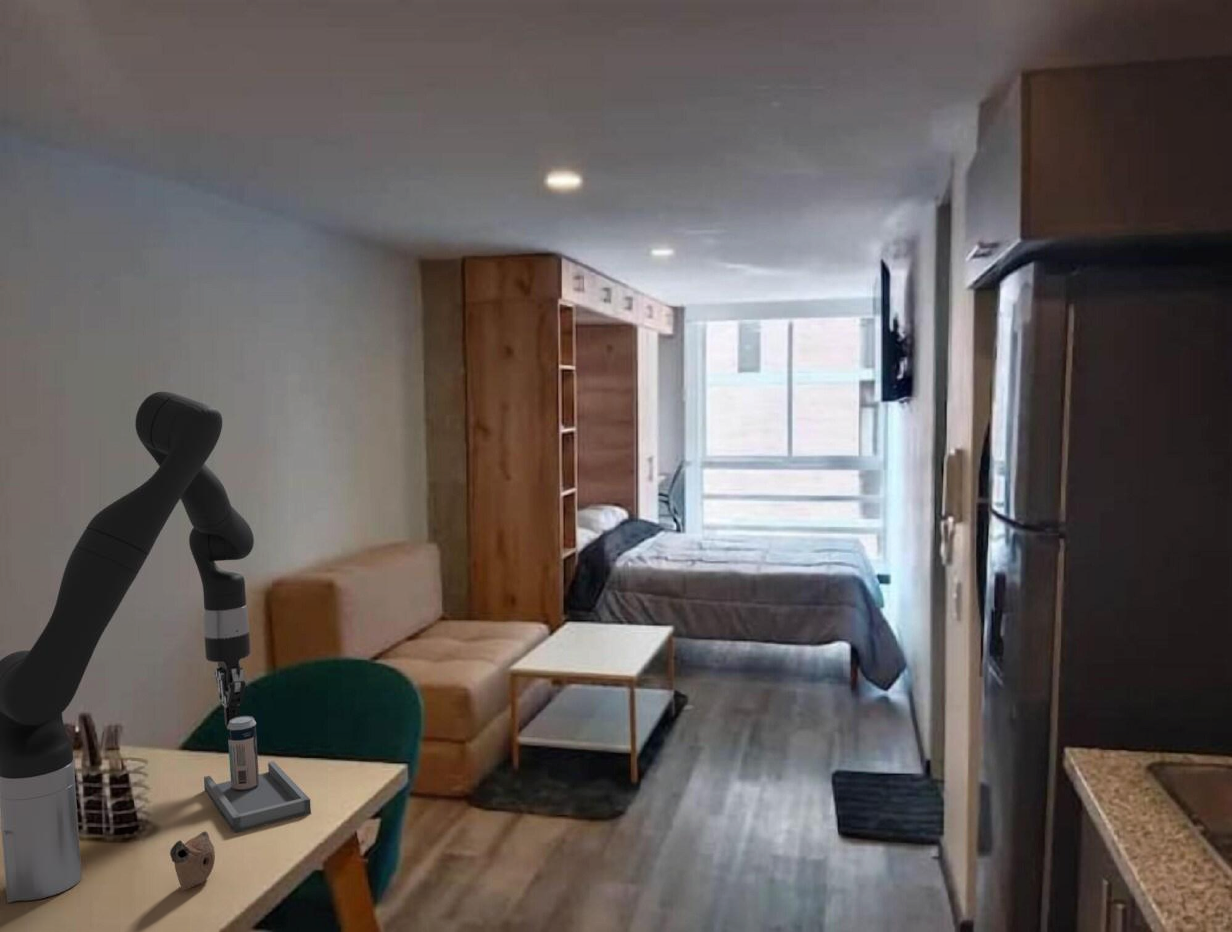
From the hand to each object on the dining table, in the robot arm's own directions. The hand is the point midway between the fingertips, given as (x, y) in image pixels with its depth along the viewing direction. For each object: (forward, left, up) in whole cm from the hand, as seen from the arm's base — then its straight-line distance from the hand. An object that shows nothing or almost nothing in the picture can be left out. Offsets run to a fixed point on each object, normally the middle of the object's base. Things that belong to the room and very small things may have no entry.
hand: (232, 725), depth 178 cm
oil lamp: (-15, -40, -10) cm, 44 cm away
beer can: (0, -8, -9) cm, 12 cm away
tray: (0, -14, -10) cm, 17 cm away
